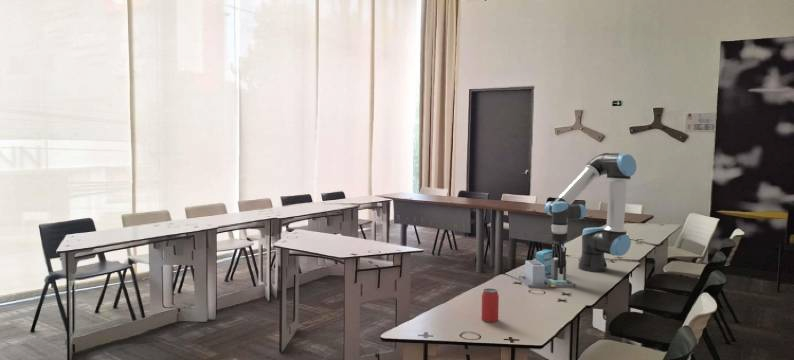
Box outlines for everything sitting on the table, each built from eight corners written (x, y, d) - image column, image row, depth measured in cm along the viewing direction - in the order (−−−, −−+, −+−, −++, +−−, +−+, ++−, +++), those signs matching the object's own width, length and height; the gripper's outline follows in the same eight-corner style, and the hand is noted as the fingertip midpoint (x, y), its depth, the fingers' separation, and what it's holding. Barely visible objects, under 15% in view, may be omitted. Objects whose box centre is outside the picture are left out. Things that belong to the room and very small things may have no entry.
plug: (562, 277, 267) (562, 257, 267) (565, 280, 262) (566, 259, 262) (550, 277, 267) (550, 257, 266) (554, 280, 262) (554, 259, 261)
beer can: (479, 317, 213) (480, 288, 212) (495, 316, 214) (496, 287, 213) (483, 322, 207) (484, 292, 206) (500, 322, 207) (500, 292, 206)
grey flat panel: (562, 278, 274) (562, 275, 274) (576, 288, 255) (576, 285, 255) (518, 278, 272) (518, 276, 272) (529, 289, 254) (530, 286, 254)
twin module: (536, 279, 270) (537, 259, 270) (544, 286, 258) (544, 265, 258) (525, 279, 270) (525, 259, 269) (532, 286, 258) (532, 265, 257)
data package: (542, 275, 279) (543, 253, 278) (535, 274, 282) (535, 252, 281) (553, 271, 287) (554, 250, 287) (546, 270, 291) (546, 248, 290)
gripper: (545, 229, 272) (544, 273, 273) (558, 235, 254) (557, 283, 256) (560, 229, 272) (558, 273, 274) (573, 235, 254) (572, 283, 256)
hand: (558, 278), depth 265 cm, fingers closed on plug, 5 cm apart
